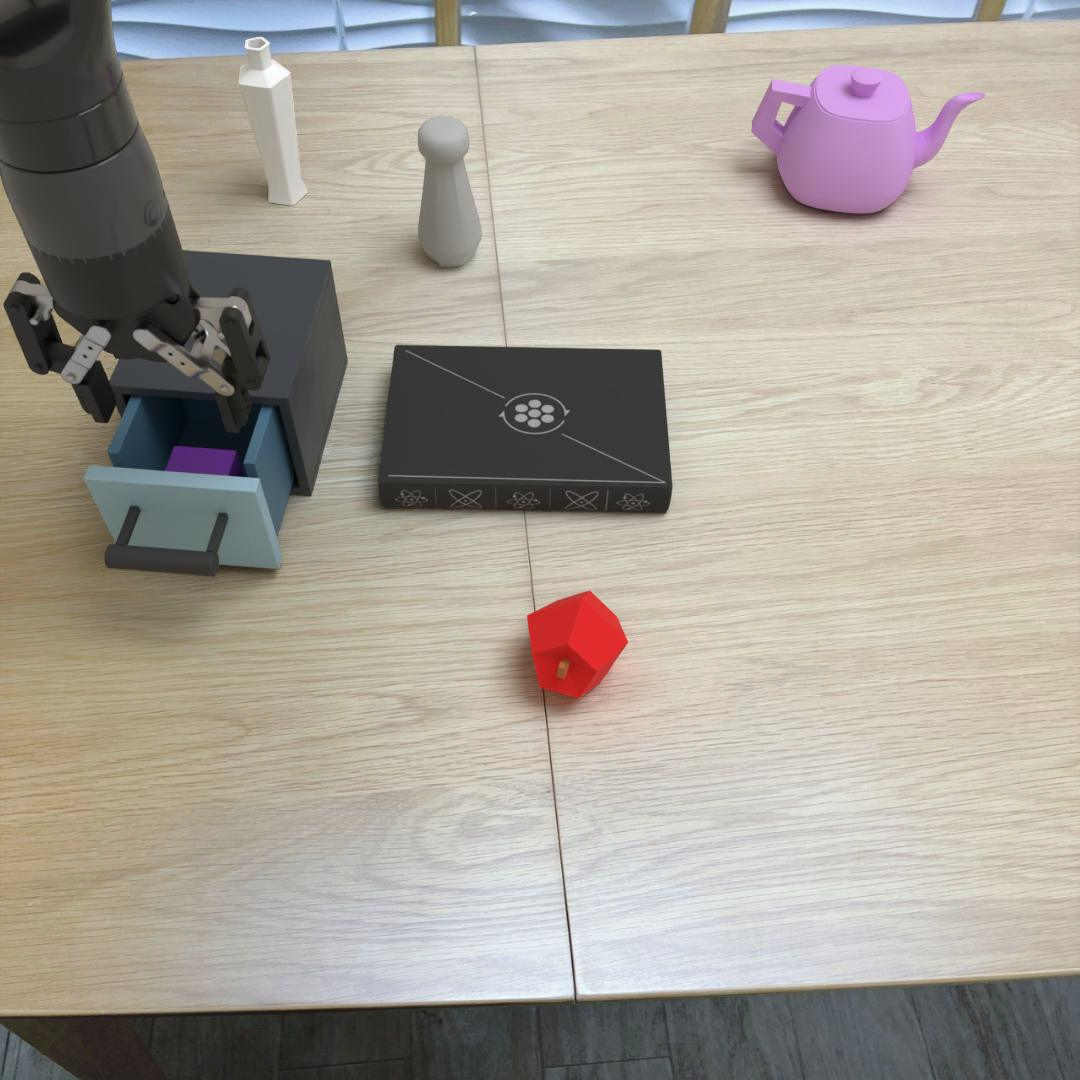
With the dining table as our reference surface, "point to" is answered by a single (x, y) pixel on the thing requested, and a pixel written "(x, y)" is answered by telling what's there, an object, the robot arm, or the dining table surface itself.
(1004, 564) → the dining table surface
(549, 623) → the apple
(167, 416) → the drawer
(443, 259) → the salt shaker
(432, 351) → the book
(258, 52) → the white tall faceted bottle
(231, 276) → the dark grey cabinet
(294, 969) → the dining table surface
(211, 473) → the block
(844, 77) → the teapot
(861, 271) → the dining table surface
